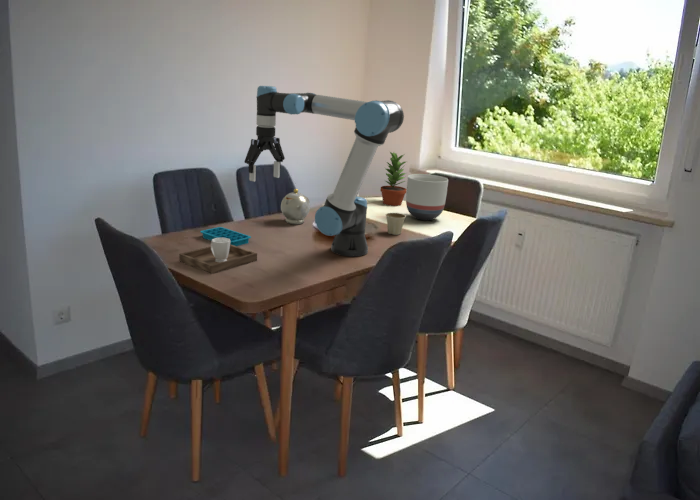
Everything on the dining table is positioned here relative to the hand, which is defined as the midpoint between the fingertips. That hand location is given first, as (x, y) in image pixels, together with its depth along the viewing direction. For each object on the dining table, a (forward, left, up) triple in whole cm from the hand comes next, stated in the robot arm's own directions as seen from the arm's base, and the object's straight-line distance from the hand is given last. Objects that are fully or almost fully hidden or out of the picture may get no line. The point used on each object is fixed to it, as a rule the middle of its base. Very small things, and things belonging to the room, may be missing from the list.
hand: (264, 179), depth 243 cm
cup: (-7, +30, -26) cm, 40 cm away
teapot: (+13, -35, -27) cm, 46 cm away
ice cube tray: (+12, +10, -27) cm, 31 cm away
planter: (-24, -91, -27) cm, 98 cm away
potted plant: (+6, -107, -27) cm, 110 cm away
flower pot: (-29, -56, -27) cm, 69 cm away
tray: (-7, +30, -27) cm, 41 cm away
